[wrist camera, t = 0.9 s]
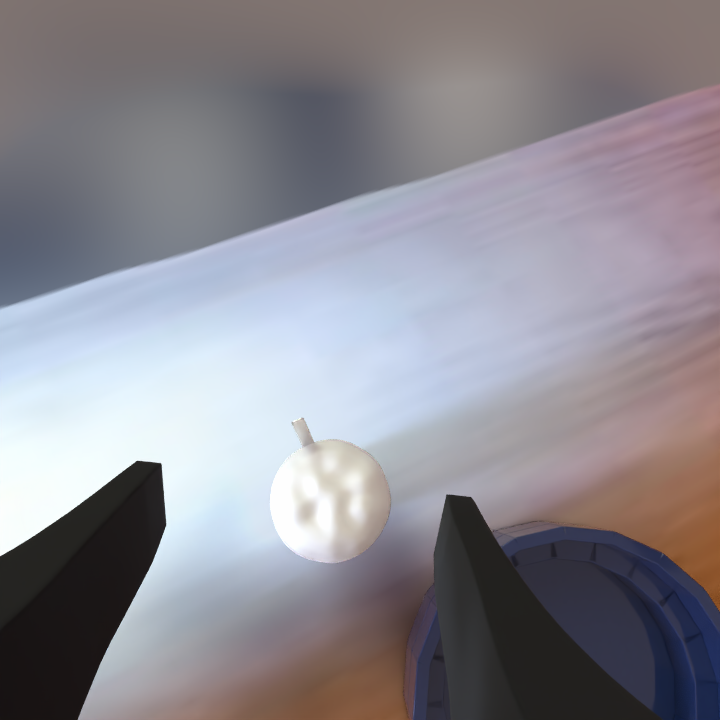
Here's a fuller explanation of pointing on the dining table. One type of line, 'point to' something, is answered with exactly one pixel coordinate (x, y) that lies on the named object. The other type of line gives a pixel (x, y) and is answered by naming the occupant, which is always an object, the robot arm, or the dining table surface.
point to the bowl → (597, 620)
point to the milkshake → (329, 499)
